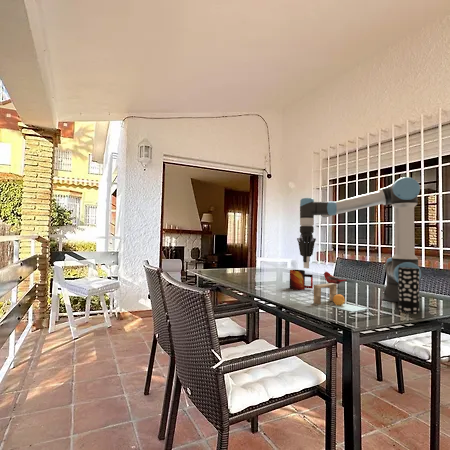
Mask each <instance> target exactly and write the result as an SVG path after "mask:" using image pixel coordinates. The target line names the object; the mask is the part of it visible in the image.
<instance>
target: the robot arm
mask: <svg viewBox="0 0 450 450" xmlns="http://www.w3.org/2000/svg"><path fill="white" fill-rule="evenodd" d="M420 191H421V185H420V183H419V182H418V180H416V179H415V178H413V177H408V176H403V177H400V178H398V179H396V180H395V181H394V182H393V183H391V184H390V185H388V186H386V187H382V188H380V189H379V190H377V191H373V192H369V193H365V194H361V195H356V196H353V197H349V198H345V199H341V200H337V201H331V200H330V201H315V199H314V198H313V197H304V198H301V199H300V201H299V202H300V203H299V233H300V235H299V237H297V238H296V240H297V244H298V248H299V255H300V256H302V262H303V269H310V260H311V258H310V257H312V256H313V255H314V250H315V249H314V248H315V242H316V241H317V238H314V235H313V234H314V230H315V229H314V228H315V226H314V225H315V222H314V221H315V218H314V217H315V216H321V217H322V218H329V217H331V216H336V215H339V214H340V215H341V214H343V213H349V212H352V211H353V212H354V211H356V210H361V209H365V208H370V207H375V206H379V205H383V206H386V205H391V206H392V207H393V208H394V255H393V256H391V257H389V258H386V263H385V265H386V284H385V285H386V286H385V289H384V291H383V294H382V300H385V301H388V302H391V303H398V268H399V267H408V268H418V269H419V281H420V280H421V278H422V270H421V268H420V267H419V258H418V257H417V255H415V254H416V253H415V249H416V248H415V207H416V206H417V205H418V196H419V194H420Z"/></svg>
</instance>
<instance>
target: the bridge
mask: <svg viewBox="0 0 450 450" xmlns="http://www.w3.org/2000/svg"><path fill="white" fill-rule="evenodd" d="M337 287H338V284H334V283H328V282H327V283H322V284H321V283H319V284H313V304H315V305H321V303H322V288H323V289H324V288H329V291H328V292H329V293H328V295H329V300H328V301H330V302H333V303H334V301H333V298H334V296H335V295H337V294H338V291H337Z"/></svg>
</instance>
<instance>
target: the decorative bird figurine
mask: <svg viewBox="0 0 450 450" xmlns="http://www.w3.org/2000/svg"><path fill="white" fill-rule="evenodd" d="M323 275H324V278H325V281H326V282H327V284H328V283H334V284H337V285H339V284H340V283H342V282H346V281H347V279H340V278H339V277H336V276H334V275H333V274H331V273H330V272H328V271H324V273H323Z"/></svg>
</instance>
